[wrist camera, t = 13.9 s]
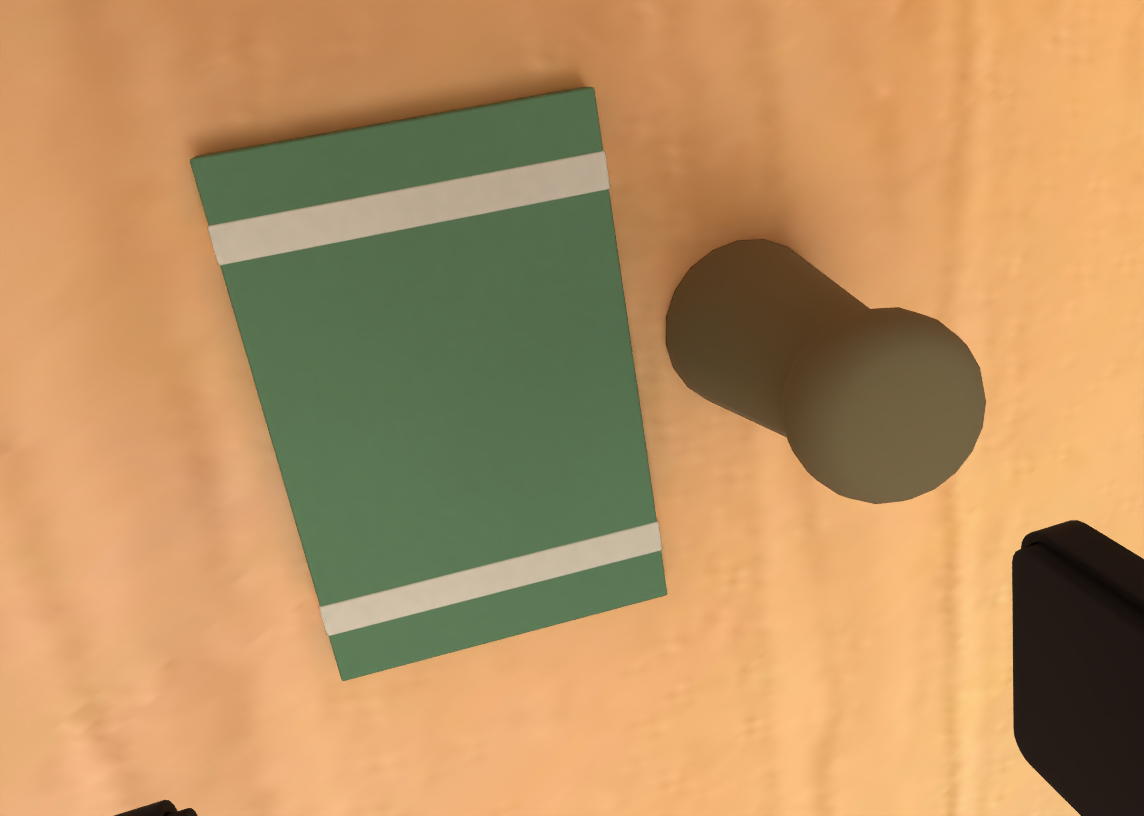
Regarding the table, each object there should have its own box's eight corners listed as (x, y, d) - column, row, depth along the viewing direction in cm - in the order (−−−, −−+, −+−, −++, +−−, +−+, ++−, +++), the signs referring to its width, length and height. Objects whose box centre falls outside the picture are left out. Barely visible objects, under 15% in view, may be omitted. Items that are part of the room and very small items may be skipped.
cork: (788, 206, 33) (986, 261, 23) (849, 352, 35) (1053, 462, 25) (636, 294, 33) (767, 389, 23) (707, 436, 35) (855, 579, 25)
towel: (193, 156, 28) (187, 159, 27) (586, 86, 30) (596, 86, 29) (340, 663, 35) (340, 683, 34) (659, 579, 37) (669, 595, 35)
